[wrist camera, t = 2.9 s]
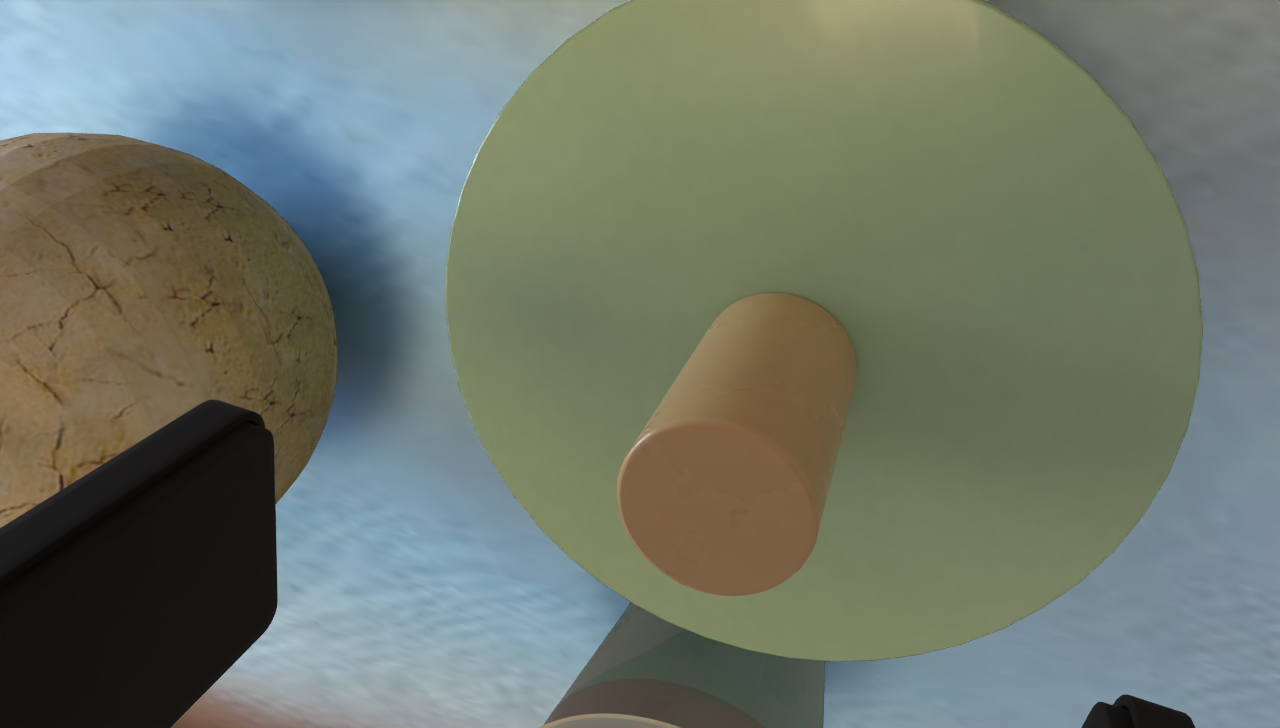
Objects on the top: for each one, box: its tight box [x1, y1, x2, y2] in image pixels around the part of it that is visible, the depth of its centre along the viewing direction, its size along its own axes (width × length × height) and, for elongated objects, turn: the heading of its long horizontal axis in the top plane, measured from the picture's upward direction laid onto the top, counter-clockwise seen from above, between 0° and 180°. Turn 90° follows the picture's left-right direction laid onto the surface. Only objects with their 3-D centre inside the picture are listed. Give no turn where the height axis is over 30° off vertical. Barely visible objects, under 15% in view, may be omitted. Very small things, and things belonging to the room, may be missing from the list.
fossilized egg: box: [0, 133, 337, 528], centre depth 26 cm, size 13×13×15 cm
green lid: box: [446, 0, 1203, 661], centre depth 15 cm, size 13×13×6 cm
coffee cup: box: [540, 602, 825, 728], centre depth 27 cm, size 8×9×12 cm
